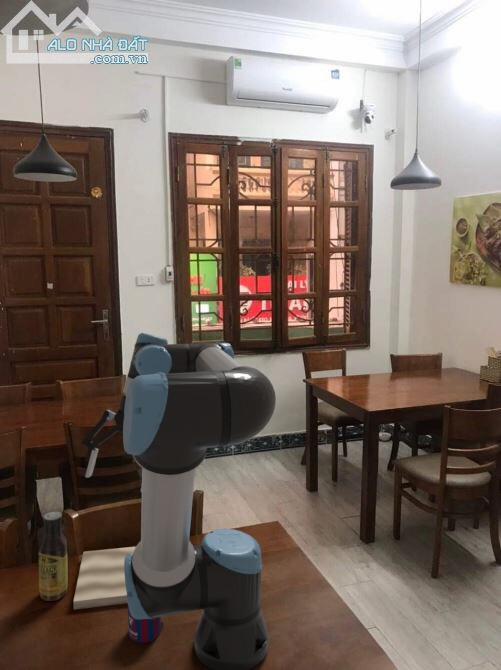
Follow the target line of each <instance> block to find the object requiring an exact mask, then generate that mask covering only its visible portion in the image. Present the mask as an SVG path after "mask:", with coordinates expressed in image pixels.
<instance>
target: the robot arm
mask: <svg viewBox="0 0 501 670" xmlns="http://www.w3.org/2000/svg"><path fill="white" fill-rule="evenodd" d="M234 353H235V352H234V350H233V346H232V345H231V343H228V342H218V341H214V342H207V343H206V342H201V343H174V344H173V343H171V344H169V343H168V340H167V339H166V338H164V337H162V336H157V335H152V334H149V333H145V332H141V333H139V334H138V335H137V338H136V341H135V343H134V349H133V352H132V356H131V360H130V365H129V370H128V372H127V376H126V379H125V382H124V386H123V390H122V392H123V393H124V394H123V395H121V398H120V402H119V405H118V410H117V412H116V413H115V412H113V411H112V410H111V409H106V410H104V411H103V414H102V417H101V418H100V419H99V421H98V422H97V423H96V424H95V425H94V427H93V428H92V429H91V430H90V431H89V432H88V434H87V435H85V437H84V438H83V439H82V440H81V444H82V445H83V446H86V447H87V452H86V456H85V462H86V463H88V464H87V468H86V471H85V472H86V473H85V475H84V478H90V477H91V476H93V472H94V468H95V466H96V460H97V457H98V453H99V448H96V447H99V445H101V444H102V443H104V442H105V441H106V440H108V439H109V438H110V437H112V436H113V435H115V434H116V433H117V432H119V433H120V434H121V435H122V439H123V440H122V442H123V449H124V452H125V453H127V454H128V455H132V456H133V458H134V460H135V462H136V464H138V466H139V467H141V487H140V491H139V492H141V510H140V511H141V513H140V514H141V521H140V523H141V524H140V541H139V542H138V543H137V545H136V546H135V547H136V548H135V550H134V552H133V553H131V554H129V555H127V556H126V557H125V560H124V573H125V585H126V591H127V600H128V603H127V607H128V606H129V610H130V613H131V615H132V617H133V618H135V619H138V620H140V619H154V618H157V617H161V618H162V617H166V616H171V615H177V614H178V615H179V614H182V613H188V612H195V611H200V610H202V612H201V615H200V618H199V620H198V623H197V626H196V628H195V633H194V651H195V655H196V657H197V658H198V660H199V661H200V663H202V664H203V665H204V666H205V667H207V668H208V669H211V670H251V669H253V668H255V667H257V666H259V664H260V663H261V662H262V661H263V660H264V659H265V657H266V656H267V654H268V650H269V631H268V627H267V625H266V621H265V619H264V616H263V612H262V610H261V602H262V601H261V597H262V596H261V595H262V594H261V592H262V591H261V590H262V569H263V563H262V551H261V546H260V545H259V543H258V541H257V540H256V539H255V538H254V537H253V536H251V535H250V534H248V533H246V532H243V531H242V530H237V529H235V528H234V529H232V528H217V529H214V530H211V531H210V532H207V533H205V535H204V537H203V539H202V541H201V543H198V544H194V545H193V543H192V542H191V541H190V535H191V534H190V531H191V524H192V523H191V522H192V521H191V520H192V508H193V498H194V497H193V496H194V487H195V478H196V477H195V475H196V469H198V468H199V467H200V466H201V465H202V464H203V462H204V460H205V459H206V456H207V451H208V450H207V449H208V448H209V449H210V448H218V447H228V446H229V447H230V446H236V445H239V444H243V443H245V442H247V441H249V440H251V439H253V438H254V437H255V436H257V435H258V434H260V432H261V431H263V430H264V428H265V427H266V426H267V425H268V424H269V422H270V421H271V419H272V417H273V415H274V411H275V410H276V401H277V399H276V398H277V396H276V392H275V388H274V386H273V383H272V382H271V380H270V379H269V378H268V376H266V375H265V374H264V373H263V372H261V371H260V370H259V369H257V368H255V367H252V366H249V365H243V364H241V363H240V362H238V361H237V360H236V359H235V354H234ZM112 419H114V421H115V424H116V425H115V426H113V427H112V428H110V430H108V431H106V433H104V434H102V435H101V436H100V437H99V438H97V439H95V440H94V441H92V440H93V439H94V438H95V437H96V435H97V434H98V433H99V432H100V431H101V429H102V428H103V427H104V426H106V424H107V423H108V422H109V421H111V420H112Z"/></svg>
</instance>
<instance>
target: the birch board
mask: <svg viewBox="0 0 501 670" xmlns="http://www.w3.org/2000/svg"><path fill="white" fill-rule="evenodd" d="M135 548H136V546H128V547H127V546H126V547H119V548H107V549H99V550H98V549H97V550H87V551H83V553H82V557H81V563H80V566H79V572H78V578H77V582H76V586H75V593H74V597H73V611H74V610H82V609H89V608H99V607H106V606H115V605H125V604H128V600H127V591H126V585H125V573H124V560H125V557H126V556H127V555H129V554H131V553H133V552H134V550H135Z"/></svg>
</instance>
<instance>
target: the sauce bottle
mask: <svg viewBox="0 0 501 670" xmlns="http://www.w3.org/2000/svg"><path fill="white" fill-rule="evenodd" d="M42 521H43V536H42V540H41V544H40V546H39V549H38V591H39V596H40V598H41V599H42V600H43V601H45V602H51V601H52V602H55V601H58V600H60V599H62V598H63V597H64V596H65V595H66V594H67V590H68V582H69V581H68V579H69V578H68V575H69V574H68V540H67V538H66V536H65V535H64V534H63V532H62V531H63V529H62V521H63V514H62V512H60V511H50V512H47V513H46V514H45V515H43V518H42Z"/></svg>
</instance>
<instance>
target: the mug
mask: <svg viewBox="0 0 501 670" xmlns="http://www.w3.org/2000/svg"><path fill="white" fill-rule="evenodd" d="M127 616H128V617H127V620H128V624H127V626H128V637H129V638H130V640H131V641H133V642H135V643H141V644H146V643H149V642H152V641H154V640H155V639H157V638H158V636H159V635H160V634H161V631H162V617H157V618H154V619H140V620H138V619H135V618H133V617H132V615H131V613H130V610H129V606H128V605H127Z"/></svg>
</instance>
